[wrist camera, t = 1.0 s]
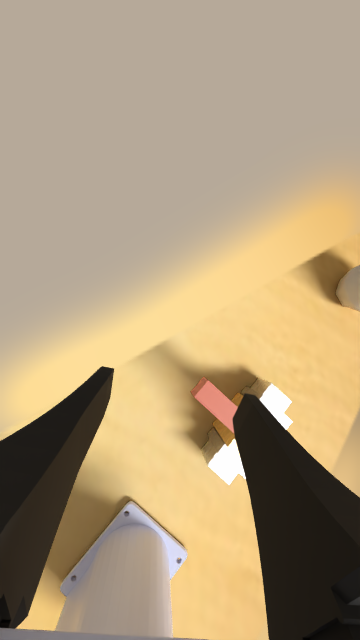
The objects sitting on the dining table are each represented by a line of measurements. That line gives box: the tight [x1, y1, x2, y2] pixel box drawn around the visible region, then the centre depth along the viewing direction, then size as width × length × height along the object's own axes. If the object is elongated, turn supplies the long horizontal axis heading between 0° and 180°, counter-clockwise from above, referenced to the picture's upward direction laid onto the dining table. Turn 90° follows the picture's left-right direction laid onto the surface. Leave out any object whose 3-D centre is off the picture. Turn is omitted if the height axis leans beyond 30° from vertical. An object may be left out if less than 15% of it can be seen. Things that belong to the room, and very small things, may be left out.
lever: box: [191, 377, 238, 433], centre depth 16 cm, size 9×2×2 cm, turn 48°
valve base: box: [201, 378, 292, 485], centre depth 20 cm, size 10×4×6 cm, turn 138°
